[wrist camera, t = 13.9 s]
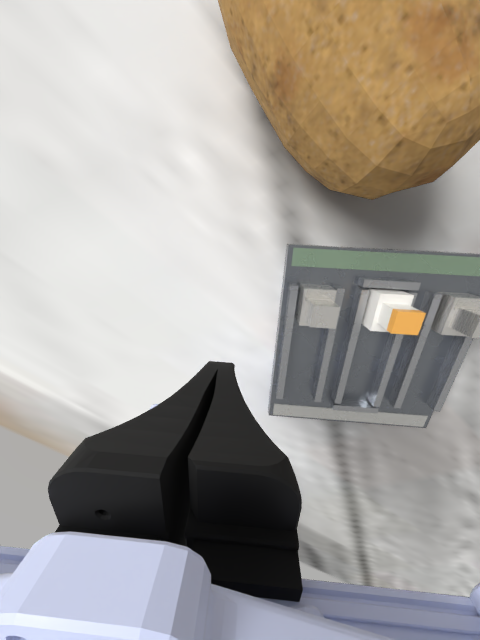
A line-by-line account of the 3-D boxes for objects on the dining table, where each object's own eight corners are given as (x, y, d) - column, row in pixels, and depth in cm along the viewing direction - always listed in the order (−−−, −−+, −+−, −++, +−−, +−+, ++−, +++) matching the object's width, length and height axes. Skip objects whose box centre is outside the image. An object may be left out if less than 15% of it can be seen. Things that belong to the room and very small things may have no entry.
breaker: (389, 324, 19) (419, 344, 16) (360, 322, 19) (384, 342, 16) (399, 289, 18) (434, 303, 15) (369, 288, 18) (396, 301, 15)
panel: (419, 420, 24) (456, 463, 20) (268, 408, 25) (271, 446, 20) (489, 254, 18) (567, 261, 14) (287, 244, 19) (297, 247, 14)
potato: (323, -115, 12) (494, -984, 3) (425, 163, 16) (622, 82, 8) (198, 20, 14) (111, -312, 6) (315, 236, 18) (371, 238, 10)
